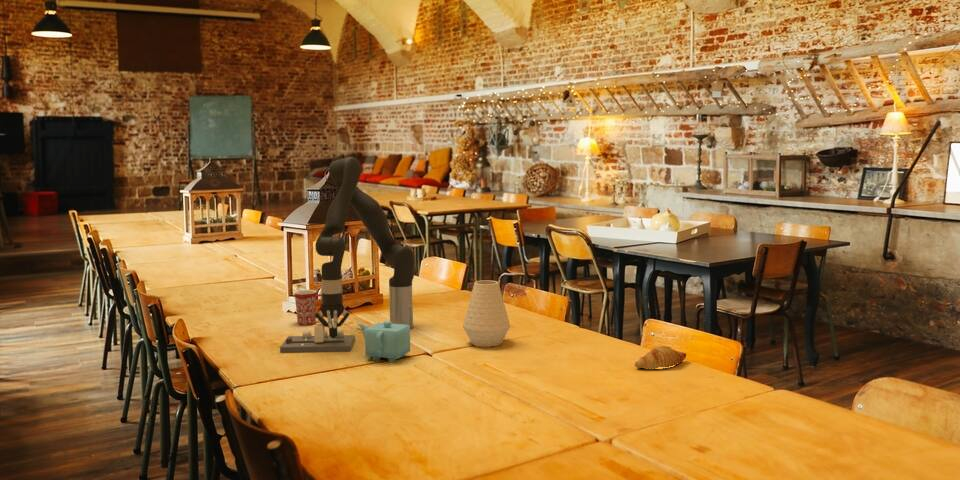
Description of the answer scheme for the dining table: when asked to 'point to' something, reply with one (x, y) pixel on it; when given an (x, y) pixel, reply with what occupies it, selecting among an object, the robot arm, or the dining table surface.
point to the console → (318, 343)
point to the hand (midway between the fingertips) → (333, 337)
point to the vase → (486, 315)
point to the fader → (319, 332)
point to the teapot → (386, 340)
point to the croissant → (660, 358)
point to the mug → (306, 306)
